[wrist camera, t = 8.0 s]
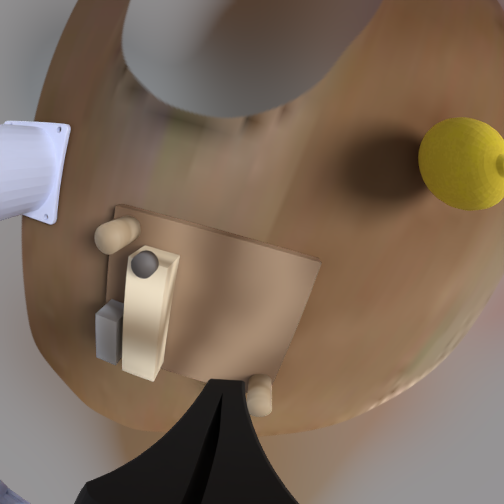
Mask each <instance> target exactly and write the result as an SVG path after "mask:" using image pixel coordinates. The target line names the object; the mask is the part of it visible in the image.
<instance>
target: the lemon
mask: <svg viewBox="0 0 504 504" xmlns="http://www.w3.org/2000/svg"><path fill="white" fill-rule="evenodd" d="M418 163H419V169H420V172H421V175H422V178H423V181H424V182H425V184H426V186H427V187H428V189H429V190H430V191H431V192H432V193H433V194H434V195H435V196H436V197H437V198H438V199H439V200H441V201H443V202H444V203H446V204H447V205H449V206H451V207H455V208H458V209H462V210H481V209H486V208H489V207H491V206H493V205H495V204H497V203H498V202H500V201H501V200H502V199H503V197H504V140H503V138H502V137H501V136H500V135H499V133H498V132H497V131H496V130H495V129H493V128H492V127H491V126H489V125H488V124H486V123H484V122H481V121H478V120H475V119H471V118H465V117H460V118H449V119H446V120H444V121H442V122H439V123H437V124H436V125H434V126H433V127H432V128H431V129H430V130H429V131H428V132H427V133H426V134H425V136H424V138H423V140H422V142H421V145H420V149H419V155H418Z"/></svg>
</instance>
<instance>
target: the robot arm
mask: <svg viewBox="0 0 504 504" xmlns="http://www.w3.org/2000/svg"><path fill="white" fill-rule="evenodd" d="M60 128H61V132H60ZM70 129H71V128H70V126H69V125H68V124H60V123H47V122H30V121H6V122H5V123H4V124H0V220H4V219H7V218H11V217H14V216H18V215H21V214H22V215H25V216H28V217H30V218H33V219H36V220H39V221H42V222H44V223H47V224H51V225H52V224H54V223H55V222H56V220H57V210H58V200H59V192H60V184H61V177H62V171H63V165H64V159H65V154H66V149H67V144H68V139H69V135H70ZM47 215H48V218H47ZM0 504H31V503H29V502H27V501H26V500H25V499H23V498H22V497H20V496H19V495H17V494H16V493H14V492H13V491H12V490H10V489H9V488H8V487H7V486H6V485H5V484H4V483H3V482H2V481H1V480H0ZM74 504H299V503H298V502H297V501H296V500H295V498H294V497H293V496H292V495H291V493H290V492H289V491H288V490H287V488H286V487H285V485H284V484H283V482H282V481H281V479H280V478H279V477H278V475H277V474H276V472H275V471H274V469H273V467H272V465H271V464H270V462H269V460H268V458H267V456H266V455H265V453H264V451H263V449H262V446H261V444H260V442H259V440H258V437H257V435H256V432H255V430H254V427H253V424H252V421H251V418H250V414H249V411H248V407H247V402H246V396H245V382H244V381H242V380H225V379H210V380H208V382H207V384H206V386H205V387H204V389H203V390H202V392H201V393H200V395H199V396H198V397H197V399H196V400H195V402H194V403H193V404H192V405H191V407H190V408H189V409H188V410H187V412H186V413H185V414H184V415H183V416H182V418H181V419H180V420H179V421H178V422H177V423H176V424H175V425H174V426H173V427H172V428H171V429H170V430H169V431H168V432H167V433H166V434H165V435H164V436H163V437H162V438H161V439H160V440H158V441H157V442H156V443H155V444H154V445H153V446H151V447H150V448H149V449H147V450H146V451H145V452H143V453H142V454H141V455H139V456H138V457H137V458H135V459H133V460H132V461H130V462H128V463H126V464H125V465H123V466H121V467H119V468H118V469H116V470H114V471H112V472H110V473H108V474H105V475H103V476H101V477H98V478H96V479H94V480H91V481H88V482H86V484H85V485H84V487H83V488H82V490H81V491H80V493H79V495H78V497H77V499H76V501H75V503H74Z"/></svg>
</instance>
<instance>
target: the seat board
mask: <svg viewBox="0 0 504 504" xmlns="http://www.w3.org/2000/svg"><path fill="white" fill-rule="evenodd" d="M95 243H96V246H97V247H98V249H99V250H100V251H101V252H102V253H104V254H109V263H108V275H107V291H106V305H105V306H103V307H102V308H101V309H100V310H99V311H98V312H97V313H96V356H97V358H100V359H102V360H104V361H107V362H109V363H111V364H114V365H116V364H117V363H118V362H119V360H120V359H121V357H122V340H123V315H124V299H125V286H126V275H127V266H128V257H129V256H130V255H131V254H133V253H134V252H136V251H137V250H139V249H140V248H142V247H143V246H145V245H146V246H149V247H153V248H156V249H160V250H163V251H167V252H170V253H174V254H177V255H180V258H179V264H178V269H177V275H176V280H175V286H174V292H173V298H172V304H171V311H170V317H169V324H168V331H167V338H166V346H165V354H164V362H163V364H162V366H161V369H164V370H167V371H170V372H173V373H176V374H179V375H182V376H186V377H189V378H192V379H196V380H199V381H202V382H206V383H207V382H208V380H210V379H225V380H242V381H244V382H245V392H246V393H247V407H248V411H249V414H250V415H252V416H256V417H263V416H266V415H268V414H269V413H270V412H271V411H272V384H273V382H274V380H275V378H276V376H277V373H278V371H279V369H280V366H281V364H282V362H283V360H284V357H285V355H286V353H287V350H288V348H289V346H290V343H291V341H292V338H293V336H294V333H295V331H296V329H297V326H298V324H299V321H300V319H301V316H302V314H303V311H304V309H305V306H306V303H307V301H308V298H309V296H310V293H311V290H312V288H313V285H314V282H315V280H316V277H317V274H318V271H319V269H320V266H321V261H320V259H319V258H317V257H313V256H310V255H306V254H303V253H299V252H296V251H292V250H289V249H285V248H282V247H278V246H275V245H271V244H268V243H264V242H261V241H257V240H254V239H250V238H247V237H243V236H239V235H236V234H232V233H229V232H225V231H221V230H218V229H214V228H211V227H207V226H203V225H200V224H196V223H192V222H189V221H185V220H181V219H178V218H174V217H170V216H167V215H163V214H159V213H155V212H152V211H148V210H144V209H140V208H137V207H133V206H129V205H125V204H120V205H116V207H115V214H114V220H113V221H110V222H108V223H105V224H102V225H100V226H99V227H98V228H97V230H96V232H95Z"/></svg>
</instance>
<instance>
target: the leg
mask: <svg viewBox="0 0 504 504" xmlns="http://www.w3.org/2000/svg"><path fill="white" fill-rule="evenodd" d="M179 258H180V255H177V254H174V253H170V252H167V251H163V250H160V249H156V248H153V247H149V246H146V245H145V246H143V247H142V248H140V249H139V250H137V251H136V252H134V253H133V254H131V255H130V256H129V257H128V266H127V275H126V286H125V299H124V315H123V340H122V370H123V371H126V372H128V373H131V374H134V375H136V376H139V377H142V378H144V379H147V380H150V381H153V382H154V380H155V378H156V376H157V374H158V372H159V370H160V368H161V366H162V364H163V362H164V354H165V346H166V338H167V331H168V324H169V317H170V311H171V304H172V298H173V292H174V286H175V280H176V275H177V269H178V264H179Z"/></svg>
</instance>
